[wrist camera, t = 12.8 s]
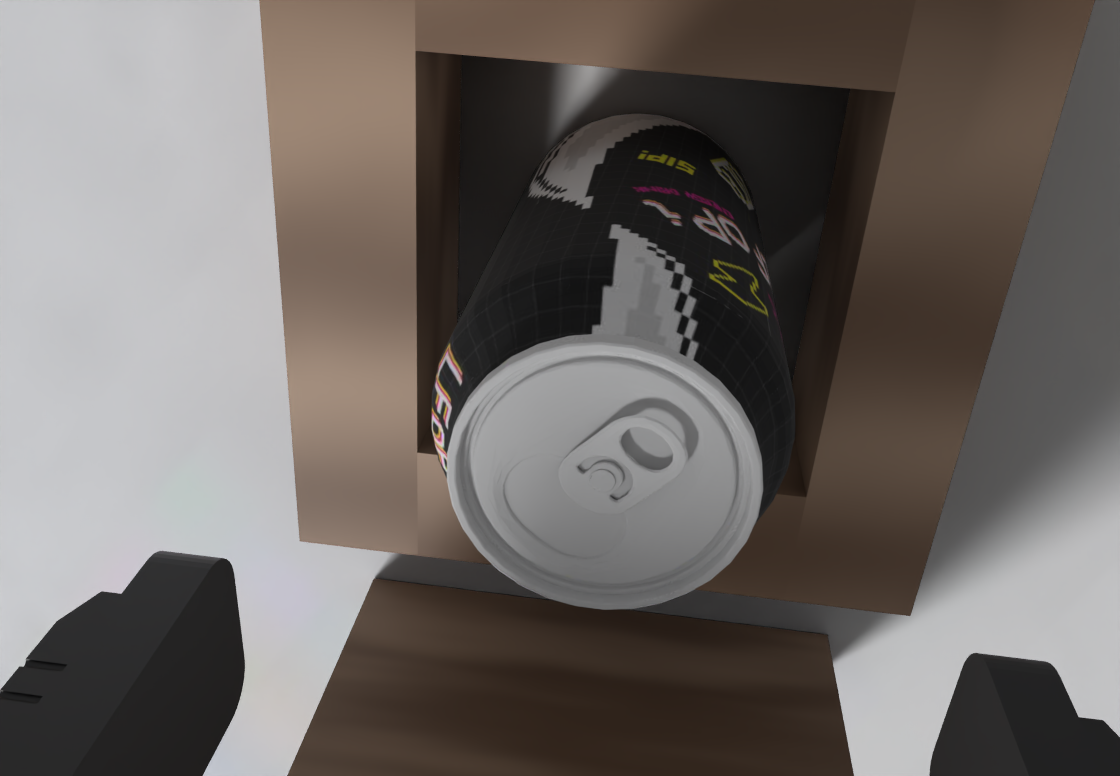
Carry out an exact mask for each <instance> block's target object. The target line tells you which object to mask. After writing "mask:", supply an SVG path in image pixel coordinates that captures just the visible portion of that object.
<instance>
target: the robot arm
mask: <svg viewBox="0 0 1120 776" xmlns="http://www.w3.org/2000/svg"><path fill="white" fill-rule="evenodd" d="M244 672H245V660H244V651H243V642H242V634H241V626H240V618H239V610H238V602H237V594H236V586H235V578H234V572H233V568H232V565H231V563H230V562H229V561H228V560H227V559H224V558H216V557H208V556H200V555H191V554H183V553H175V552H167V551H159V552H156V553H154V554H153V555H152V556H151V557H150V558H149V559H148V560H147V561H146V563H145V564H144V565H143V567H142V568H141V569H140V570H139V572H138V573H137V574H136V576H135V577H134V578H133V580H132V581H131V582H130V584H129V585H128V586H127V587H126V589H125V590H124V591H123V593H122V594H118V593H110V592H100V593H99V594H97V595H96V596H94V597H93V598H91V599H90V600H88V601H87V602H85V603H84V604H82V605H81V606H79V607H78V608H76V609H75V610H73V611H72V612H70V613H69V614H67V615H66V616H64V617H63V618H61V619H60V620H58V621H57V622H56V623H55V624H54V625H53V627H52V628H51V629H50V630H49V631H48V633H47V634H46V635H45V636H44V638H43V639H42V640H41V641H40V642H39V644H38V645H37V646H36V647H35V648H34V650H33V651H32V652H31V653H30V655H29V656H28V657H27V658H26V663H25V666H24V667H19V668H18V669H17V670H16V672H15V673H14V674H13V675H12V676H11V678H10V679H9V680H8V681H7V682H6V684H5V685H4V686H3V687H2V688H1V690H0V776H203V774H204V772H205V770H206V768H207V766H208V764H209V762H210V760H211V758H212V757H213V755H214V753H215V751H216V749H217V747H218V745H219V743H220V741H221V739H222V738H223V736H224V734H225V732H226V730H227V728H228V726H229V724H230V722H231V720H232V718H233V716H234V714H235V711H236V709H237V706H238V703H239V700H240V696H241V692H242V687H243V681H244ZM930 776H1120V737H1119V736H1118V735H1117V734H1116V733H1115V732H1114V731H1113V730H1112V729H1111V728H1110V727H1109V726H1108V725H1107V724H1106V723H1105V722H1104V721H1103V720H1096V719H1088V718H1080V717H1078V715H1077V713H1076V711H1075V708H1074V706H1073V704H1072V702H1071V700H1070V698H1069V695H1068V693H1067V691H1066V689H1065V687H1064V684H1063V682H1062V680H1061V678H1060V676H1059V674H1058V672H1057V670H1056V669H1055V668H1054V667H1053V666H1052V665H1051V664H1050V663H1048V662H1044V661H1036V660H1028V659H1020V658H1012V657H1004V656H996V655H987V654H979V653H973V654H971V655H970V656H969V657H968V658H967V660H966V661H965V663H964V665H963V668H962V671H961V673H960V676H959V679H958V682H957V685H956V688H955V691H954V694H953V696H952V699H951V702H950V705H949V708H948V711H947V714H946V716H945V719H944V722H943V725H942V728H941V731H940V734H939V737H938V739H937V742H936V745H935V748H934V751H933V755H932V760H931V766H930Z"/></svg>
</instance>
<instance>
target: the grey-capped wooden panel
mask: <svg viewBox="0 0 1120 776" xmlns="http://www.w3.org/2000/svg"><path fill="white" fill-rule="evenodd" d="M287 776H854V774H853V768H852V763H851V758H850V753H849V747H848V742H847V737H846V731H845V726H844V721H843V715H842V710H841V705H840V699H839V694H838V689H837V683H836V678H835V673H834V667H833V662H832V657H831V651H830V646H829V641H828V635H824V634H816V633H808V632H800V631H792V630H784V629H776V628H768V627H760V626H752V625H744V624H736V623H728V622H720V621H712V620H704V619H696V618H688V617H680V616H672V615H664V614H656V613H648V612H640V611H631V610H623V609H613V610H601V609H594V608H587V607H579V606H574V605H570V604H566V603H563V602H559V601H551V600H543V599H535V598H527V597H519V596H511V595H503V594H495V593H487V592H479V591H471V590H463V589H455V588H447V587H439V586H431V585H423V584H415V583H407V582H398V581H390V580H382V579H374V580H373V582H372V584H371V587H370V589H369V591H368V593H367V596H366V598H365V600H364V603H363V605H362V607H361V609H360V612H359V614H358V616H357V618H356V621H355V623H354V625H353V628H352V630H351V632H350V634H349V637H348V639H347V641H346V643H345V646H344V648H343V650H342V653H341V655H340V657H339V659H338V662H337V664H336V666H335V668H334V671H333V673H332V675H331V678H330V680H329V682H328V684H327V687H326V689H325V691H324V694H323V696H322V698H321V700H320V703H319V705H318V707H317V709H316V712H315V714H314V716H313V719H312V721H311V723H310V725H309V728H308V730H307V732H306V734H305V737H304V739H303V741H302V744H301V746H300V748H299V750H298V753H297V755H296V757H295V760H294V762H293V764H292V766H291V769H290V771H289V773H288V775H287Z"/></svg>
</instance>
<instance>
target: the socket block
mask: <svg viewBox="0 0 1120 776" xmlns="http://www.w3.org/2000/svg"><path fill="white" fill-rule="evenodd" d="M259 1H260V14H261V28H262V41H263V55H264V68H265V81H266V95H267V108H268V122H269V135H270V148H271V162H272V175H273V189H274V202H275V216H276V229H277V242H278V256H279V269H280V283H281V296H282V310H283V323H284V336H285V350H286V363H287V377H288V390H289V403H290V417H291V430H292V444H293V457H294V471H295V484H296V497H297V511H298V524H299V538H300V541H302V542H310V543H318V544H327V545H335V546H343V547H351V548H359V549H367V550H376V551H384V552H392V553H400V554H408V555H416V556H425V557H433V558H441V559H449V560H457V561H465V562H473V563H482V564H490V565H492V564H491V563H490V562H489V561H488V560H487V559H486V558H485V557H484V556H483V555H482V554H481V553H480V552H479V551H478V550H477V548H476V547H475V545H474V544H473V542H472V541H471V540H470V538H469V537H468V535H467V534H466V533H465V531H464V530H463V528H462V526H461V524H460V522H459V519H458V517H457V515H456V513H455V511H454V508H453V506H452V502H451V498H450V493H449V488H448V483H447V478H446V476H445V474H444V471H443V469H442V467H441V465H440V462H439V460H438V456H437V451H436V446H435V442H434V437H433V432H432V390H433V386H434V382H435V378H436V373H437V369H438V365H439V361H440V357H441V355H442V353H443V351H444V349H445V347H446V345H447V343H448V341H449V339H450V337H451V335H452V333H453V331H454V329H455V327H456V325H457V312H458V251H459V191H460V130H461V70H462V55H470V56H482V57H494V58H505V59H517V60H528V61H540V62H551V63H563V64H574V65H586V66H597V67H609V68H620V69H632V70H643V71H655V72H666V73H678V74H689V75H701V76H713V77H724V78H736V79H747V80H759V81H770V82H782V83H793V84H805V85H816V86H828V87H839V88H851V89H850V94H849V99H848V104H847V109H846V114H845V119H844V124H843V129H842V134H841V139H840V144H839V149H838V154H837V159H836V164H835V169H834V174H833V179H832V184H831V190H830V195H829V200H828V205H827V210H826V215H825V220H824V225H823V230H822V235H821V240H820V245H819V250H818V255H817V260H816V265H815V270H814V275H813V280H812V285H811V290H810V296H809V301H808V306H807V311H806V316H805V321H804V326H803V331H802V336H801V341H800V346H799V351H798V356H797V361H796V366H795V371H794V376H793V381H792V388H793V393H794V397H795V438H794V443H793V447H792V452H791V457H790V462H789V466H788V469H787V472H786V474H785V476H784V478H783V481H782V483H781V485H780V487H779V489H778V491H777V493H776V496H775V498H774V500H773V502H772V503H771V504H770V506H769V507H768V508H767V510H766V511H765V512H764V514H763V515H762V516H761V517H760V519H759V520H758V521H757V523H756V524H755V525H754V527H753V529H752V531H751V533H750V536H749V538H748V540H747V542H746V543H745V544H744V546H743V547H742V548H741V550H740V551H739V552H738V554H737V555H736V556H735V558H734V559H733V560H732V562H731V563H730V564H729V565H727V566H726V567H725V568H724V569H723V570H722V571H721V572H719V573H718V574H717V575H716V576H715V577H714V578H713V579H711V580H710V581H708V582H707V583H705V584H703V585H701V586H699V587H698V588H696V589H694V590H702V591H710V592H718V593H727V594H735V595H743V596H751V597H759V598H767V599H776V600H784V601H792V602H800V603H808V604H816V605H825V606H833V607H841V608H849V609H857V610H865V611H874V612H882V613H890V614H898V615H906V616H910V615H911V612H912V609H913V605H914V602H915V599H916V595H917V592H918V589H919V585H920V582H921V579H922V575H923V572H924V569H925V565H926V562H927V559H928V555H929V552H930V549H931V545H932V542H933V539H934V535H935V532H936V529H937V525H938V522H939V519H940V515H941V512H942V509H943V505H944V502H945V499H946V495H947V492H948V489H949V485H950V482H951V479H952V475H953V472H954V469H955V465H956V462H957V459H958V455H959V452H960V449H961V445H962V442H963V439H964V435H965V432H966V429H967V425H968V422H969V419H970V415H971V412H972V409H973V405H974V402H975V399H976V395H977V392H978V389H979V385H980V382H981V379H982V375H983V372H984V369H985V365H986V362H987V359H988V355H989V352H990V349H991V345H992V342H993V339H994V335H995V332H996V329H997V325H998V322H999V319H1000V315H1001V312H1002V308H1003V305H1004V302H1005V298H1006V295H1007V292H1008V288H1009V285H1010V282H1011V278H1012V275H1013V272H1014V268H1015V265H1016V262H1017V258H1018V255H1019V252H1020V248H1021V245H1022V242H1023V238H1024V235H1025V232H1026V228H1027V225H1028V222H1029V218H1030V215H1031V212H1032V208H1033V205H1034V202H1035V198H1036V195H1037V192H1038V188H1039V185H1040V182H1041V178H1042V175H1043V172H1044V168H1045V165H1046V162H1047V158H1048V155H1049V152H1050V148H1051V145H1052V142H1053V138H1054V135H1055V132H1056V128H1057V125H1058V122H1059V118H1060V115H1061V112H1062V108H1063V105H1064V102H1065V98H1066V95H1067V92H1068V88H1069V85H1070V82H1071V78H1072V75H1073V72H1074V68H1075V65H1076V62H1077V58H1078V55H1079V52H1080V48H1081V45H1082V42H1083V38H1084V35H1085V32H1086V28H1087V25H1088V22H1089V18H1090V15H1091V12H1092V8H1093V5H1094V2H1095V0H259Z"/></svg>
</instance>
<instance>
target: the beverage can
mask: <svg viewBox="0 0 1120 776" xmlns="http://www.w3.org/2000/svg"><path fill="white" fill-rule="evenodd" d="M432 432H433V437H434V442H435V446H436V451H437V456H438V460H439V462H440V465H441V467H442V469H443V471H444V474H445V476H446V478H447V483H448V488H449V493H450V498H451V502H452V506H453V508H454V511H455V513H456V515H457V517H458V519H459V522H460V524H461V526H462V528H463V530H464V531H465V533H466V534H467V535H468V537H469V538H470V540H471V541H472V542H473V544H474V545H475V547H476V548H477V550H478V551H479V552H480V553H481V554H482V555H483V556H484V557H485V558H486V559H487V560H488V561H489V562H490V563H491V564H492V565H493V566H494V567H495V568H496V569H497V570H498V571H500V572H501V573H503V574H504V575H506V576H507V577H509V578H510V579H512V580H513V581H515V582H516V583H517V584H519V585H520V586H522V587H524V588H526V589H529V590H531V591H533V592H535V593H537V594H539V595H541V596H544V597H546V598H549V599H552V600H556V601H559V602H563V603H566V604H570V605H574V606H579V607H587V608H594V609H601V610H613V609H635V608H640V607H646V606H651V605H656V604H661V603H664V602H666V601H669V600H671V599H674V598H677V597H679V596H682V595H685V594H687V593H689V592H691V591H692V590H694V589H696V588H698V587H699V586H701V585H703V584H705V583H707V582H708V581H710V580H711V579H713V578H714V577H715V576H716V575H717V574H718V573H719V572H721V571H722V570H723V569H724V568H725V567H726V566H727V565H729V564H730V563H731V562H732V560H733V559H734V558H735V556H736V555H737V554H738V552H739V551H740V550H741V548H742V547H743V546H744V544H745V543H746V542H747V540H748V538H749V536H750V533H751V531H752V529H753V527H754V525H755V524H756V523H757V521H758V520H759V519H760V517H761V516H762V515H763V514H764V512H765V511H766V510H767V508H768V507H769V506H770V504H771V503H772V502H773V500H774V498H775V496H776V493H777V491H778V489H779V487H780V485H781V483H782V481H783V478H784V476H785V474H786V472H787V469H788V466H789V462H790V457H791V452H792V447H793V443H794V438H795V397H794V393H793V388H792V383H791V378H790V373H789V369H788V364H787V359H786V354H785V349H784V344H783V340H782V335H781V330H780V325H779V320H778V316H777V311H776V306H775V301H774V296H773V292H772V287H771V282H770V277H769V272H768V267H767V263H766V258H765V253H764V248H763V243H762V239H761V234H760V229H759V224H758V219H757V215H756V210H755V206H754V202H753V198H752V194H751V190H750V188H749V186H748V184H747V182H746V180H745V178H744V176H743V174H742V172H741V170H740V169H739V167H738V166H737V165H736V163H735V162H734V161H733V160H732V158H731V157H730V156H729V155H728V153H727V152H726V151H725V150H724V149H723V148H722V147H721V146H720V145H718V144H717V143H716V142H715V141H714V140H712V139H711V138H710V137H709V136H708V135H707V134H705V133H703V132H701V131H699V130H697V129H696V128H694V127H692V126H690V125H688V124H686V123H684V122H681V121H677V120H674V119H671V118H667V117H664V116H659V115H649V114H638V113H637V114H627V115H617V116H611V117H608V118H605V119H602V120H599V121H595V122H592V123H589V124H588V125H586V126H584V127H582V128H580V129H578V130H577V131H575V132H573V133H571V134H569V135H568V136H567V137H565V138H564V139H563V140H562V141H561V142H560V143H558V144H557V145H556V146H555V147H554V148H553V149H551V150H550V151H549V153H548V154H547V155H546V156H545V158H544V159H543V160H542V161H541V163H540V164H539V165H538V167H537V168H536V169H535V171H534V173H533V175H532V177H531V179H530V181H529V183H528V185H527V187H526V189H525V191H524V193H523V195H522V197H521V199H520V201H519V203H518V205H517V207H516V209H515V211H514V213H513V215H512V217H511V219H510V221H509V222H508V224H507V226H506V228H505V230H504V232H503V234H502V236H501V238H500V240H499V242H498V244H497V246H496V248H495V250H494V252H493V254H492V256H491V258H490V260H489V262H488V264H487V266H486V268H485V270H484V272H483V274H482V276H481V278H480V280H479V282H478V284H477V286H476V288H475V290H474V292H473V294H472V295H471V297H470V299H469V301H468V303H467V305H466V307H465V309H464V311H463V313H462V315H461V317H460V319H459V321H458V323H457V325H456V327H455V329H454V331H453V333H452V335H451V337H450V339H449V341H448V343H447V345H446V347H445V349H444V351H443V353H442V355H441V357H440V361H439V365H438V369H437V373H436V378H435V382H434V386H433V390H432Z"/></svg>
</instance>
